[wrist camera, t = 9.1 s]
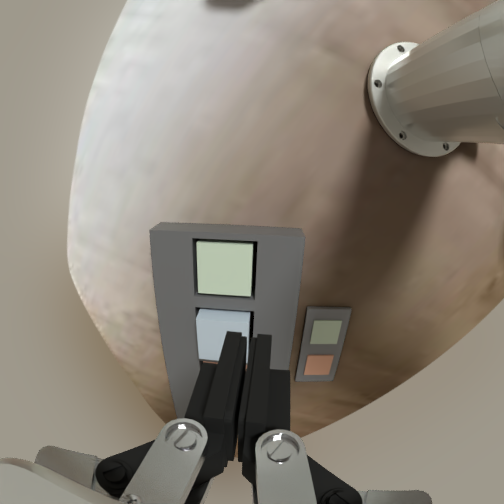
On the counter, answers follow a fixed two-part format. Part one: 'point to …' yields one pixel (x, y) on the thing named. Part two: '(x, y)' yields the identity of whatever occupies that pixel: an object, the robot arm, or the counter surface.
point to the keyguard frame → (190, 301)
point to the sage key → (225, 266)
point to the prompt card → (322, 342)
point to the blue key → (219, 330)
